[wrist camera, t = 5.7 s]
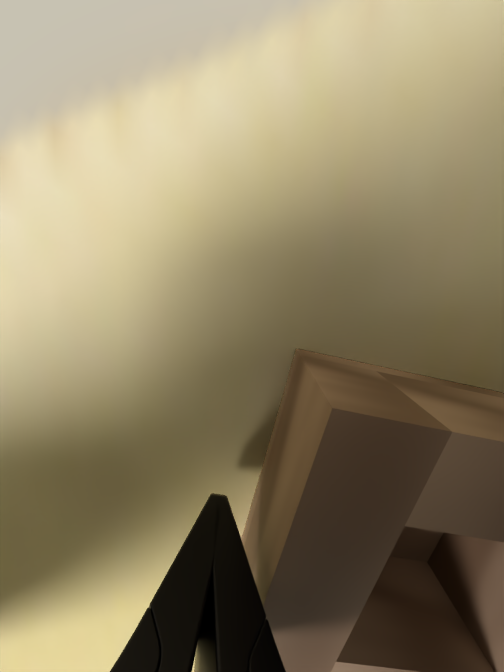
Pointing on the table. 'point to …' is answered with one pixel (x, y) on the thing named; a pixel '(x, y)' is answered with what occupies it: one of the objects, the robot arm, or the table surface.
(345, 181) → the table surface
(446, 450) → the pocket block
